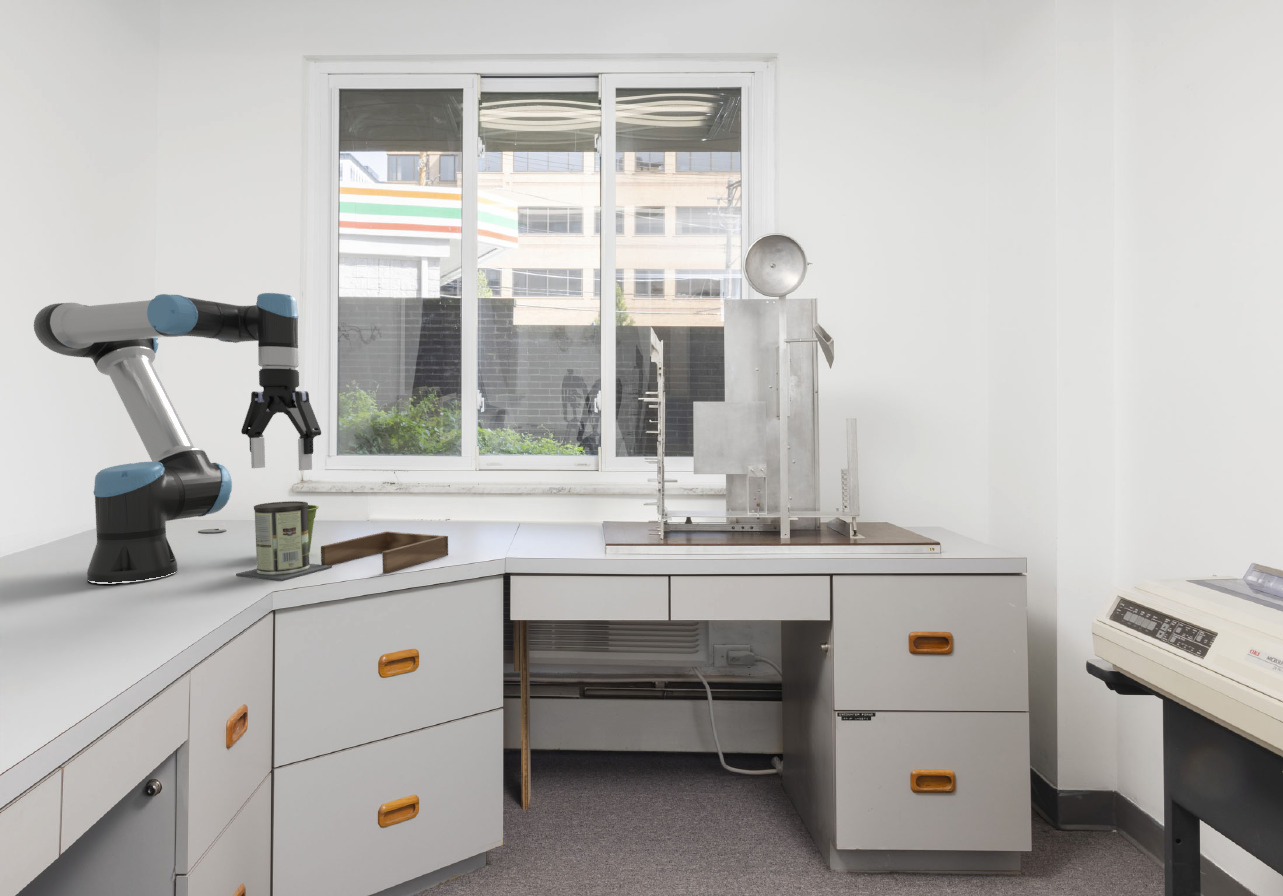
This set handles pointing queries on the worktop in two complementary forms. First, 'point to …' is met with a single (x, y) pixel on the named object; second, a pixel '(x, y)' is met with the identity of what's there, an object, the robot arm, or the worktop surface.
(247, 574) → the slate mat
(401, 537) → the frame
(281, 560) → the coffee can
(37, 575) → the worktop surface
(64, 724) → the worktop surface
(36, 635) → the worktop surface
